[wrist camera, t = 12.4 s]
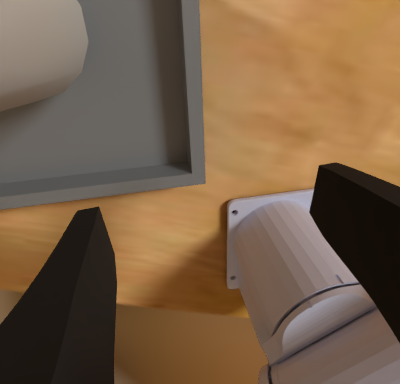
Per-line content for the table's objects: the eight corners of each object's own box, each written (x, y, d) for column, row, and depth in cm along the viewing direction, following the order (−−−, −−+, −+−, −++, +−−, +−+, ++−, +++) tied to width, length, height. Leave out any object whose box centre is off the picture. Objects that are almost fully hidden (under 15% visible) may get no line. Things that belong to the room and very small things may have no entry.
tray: (198, 165, 21) (205, 183, 19) (-57, 196, 19) (-81, 220, 16) (181, -185, 12) (191, -225, 10) (-288, -203, 10) (-398, -258, 8)
